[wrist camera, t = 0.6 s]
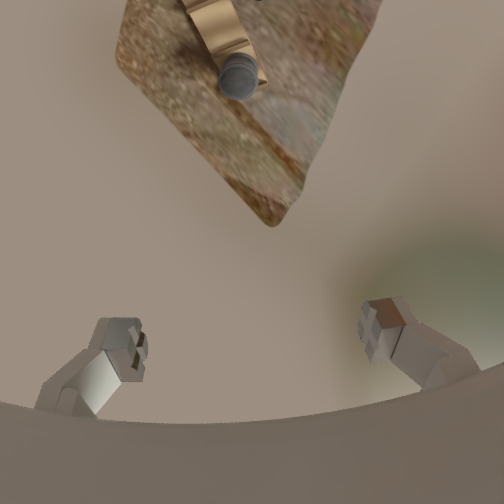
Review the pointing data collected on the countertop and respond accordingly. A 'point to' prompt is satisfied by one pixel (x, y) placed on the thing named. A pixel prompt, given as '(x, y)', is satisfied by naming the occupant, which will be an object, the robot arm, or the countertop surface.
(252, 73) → the spool
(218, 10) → the organizer
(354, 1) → the countertop surface
